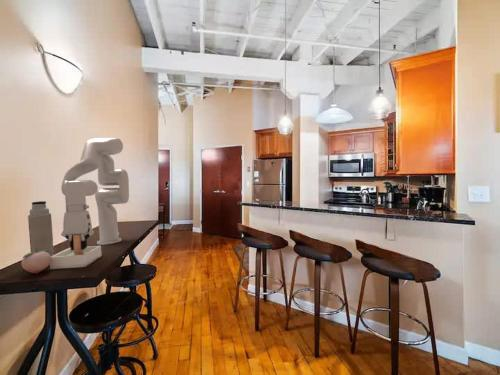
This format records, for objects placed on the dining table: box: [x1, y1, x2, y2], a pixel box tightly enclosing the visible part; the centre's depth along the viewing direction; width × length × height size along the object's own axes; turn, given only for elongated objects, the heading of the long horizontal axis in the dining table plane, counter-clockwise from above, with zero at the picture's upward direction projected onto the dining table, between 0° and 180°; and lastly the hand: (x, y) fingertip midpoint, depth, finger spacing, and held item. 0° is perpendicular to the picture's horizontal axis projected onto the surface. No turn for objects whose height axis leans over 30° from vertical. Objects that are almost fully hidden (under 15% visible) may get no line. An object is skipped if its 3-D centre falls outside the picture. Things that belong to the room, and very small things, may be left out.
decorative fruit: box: [21, 249, 51, 274], centre depth 105 cm, size 9×8×10 cm
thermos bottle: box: [27, 201, 55, 267], centre depth 116 cm, size 8×8×28 cm
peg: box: [73, 234, 84, 255], centre depth 118 cm, size 4×4×10 cm
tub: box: [49, 245, 103, 270], centre depth 118 cm, size 15×14×5 cm
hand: (78, 248), depth 118 cm, fingers closed on peg, 3 cm apart
